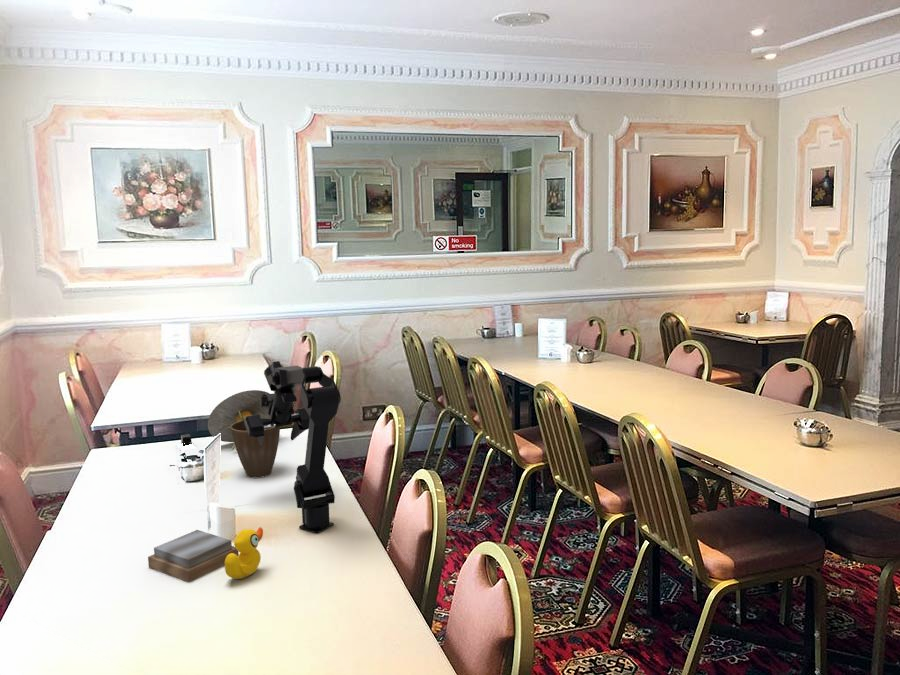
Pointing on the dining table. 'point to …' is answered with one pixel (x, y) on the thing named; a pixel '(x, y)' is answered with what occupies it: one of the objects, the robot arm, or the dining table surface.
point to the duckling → (244, 554)
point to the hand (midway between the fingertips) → (276, 441)
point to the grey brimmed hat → (235, 413)
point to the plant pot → (256, 449)
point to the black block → (186, 439)
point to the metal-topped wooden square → (191, 555)
